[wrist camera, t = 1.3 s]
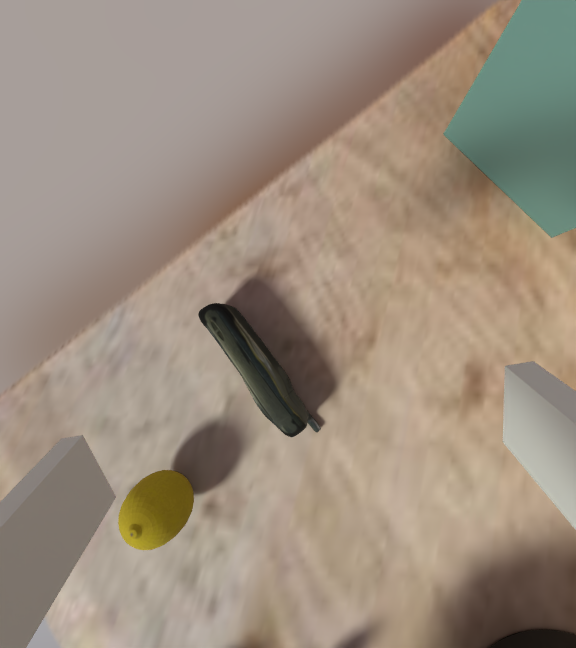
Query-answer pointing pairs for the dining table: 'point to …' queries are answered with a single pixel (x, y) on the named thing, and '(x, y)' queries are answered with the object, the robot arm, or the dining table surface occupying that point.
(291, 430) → the mobile phone
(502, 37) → the teal storage bin
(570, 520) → the robot arm
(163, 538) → the lemon
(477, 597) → the dining table surface
